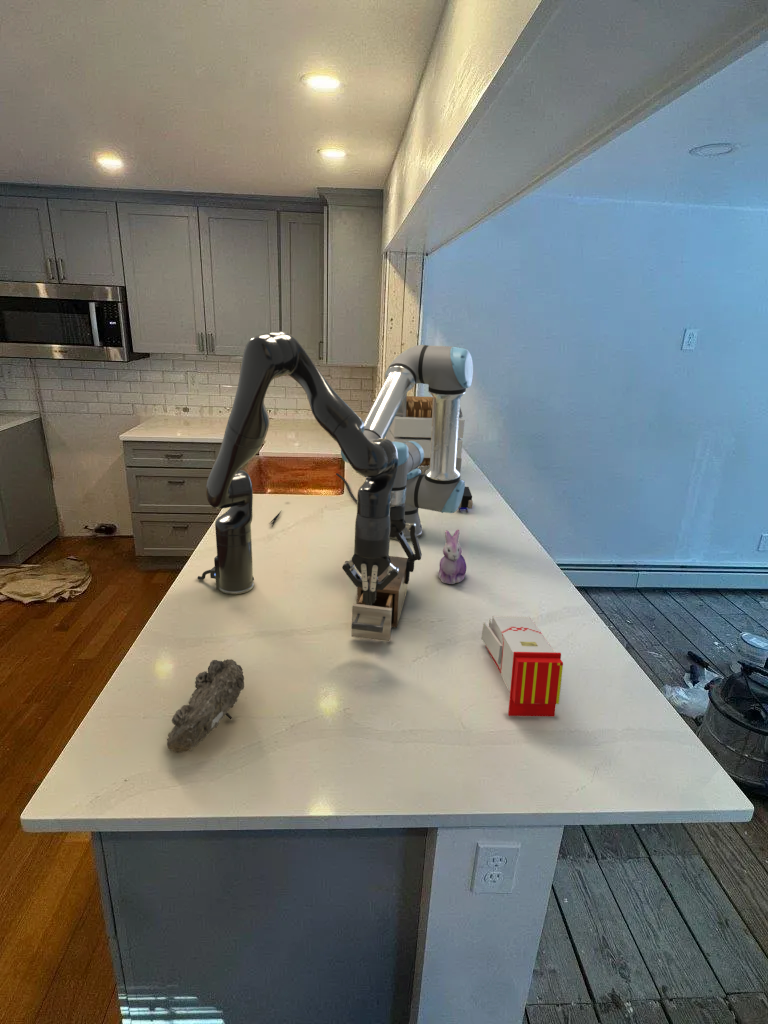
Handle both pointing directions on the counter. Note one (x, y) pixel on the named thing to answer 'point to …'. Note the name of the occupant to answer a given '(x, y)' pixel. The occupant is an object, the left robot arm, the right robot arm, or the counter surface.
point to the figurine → (452, 560)
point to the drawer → (373, 617)
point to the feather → (274, 519)
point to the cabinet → (393, 587)
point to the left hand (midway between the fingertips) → (369, 603)
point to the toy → (525, 665)
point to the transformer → (420, 426)
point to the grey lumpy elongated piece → (206, 705)
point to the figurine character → (466, 500)
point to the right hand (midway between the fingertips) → (387, 579)
